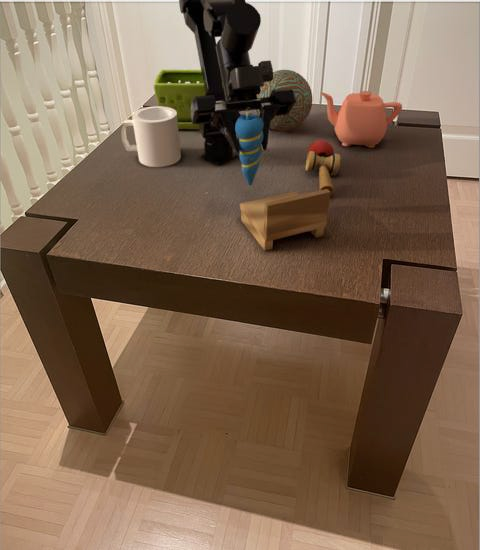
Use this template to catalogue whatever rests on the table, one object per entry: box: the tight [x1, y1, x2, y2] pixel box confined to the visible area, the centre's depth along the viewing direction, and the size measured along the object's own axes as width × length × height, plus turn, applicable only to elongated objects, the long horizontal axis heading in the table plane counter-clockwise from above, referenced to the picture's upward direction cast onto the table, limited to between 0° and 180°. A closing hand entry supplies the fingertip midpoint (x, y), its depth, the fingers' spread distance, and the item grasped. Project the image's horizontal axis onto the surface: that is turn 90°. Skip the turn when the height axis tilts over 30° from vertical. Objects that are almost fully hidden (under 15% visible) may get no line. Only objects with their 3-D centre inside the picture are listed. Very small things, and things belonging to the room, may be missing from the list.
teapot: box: [320, 90, 403, 149], centre depth 114 cm, size 13×20×12 cm, turn 81°
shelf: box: [239, 189, 331, 252], centre depth 84 cm, size 12×12×10 cm
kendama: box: [305, 139, 341, 197], centre depth 101 cm, size 8×6×18 cm
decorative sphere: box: [255, 69, 313, 132], centre depth 120 cm, size 15×15×15 cm
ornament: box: [235, 109, 264, 186], centre depth 83 cm, size 5×5×15 cm
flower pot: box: [153, 69, 206, 130], centre depth 124 cm, size 14×14×13 cm
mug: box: [120, 105, 182, 168], centre depth 108 cm, size 14×10×11 cm
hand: (251, 151), depth 82 cm, fingers closed on ornament, 5 cm apart
